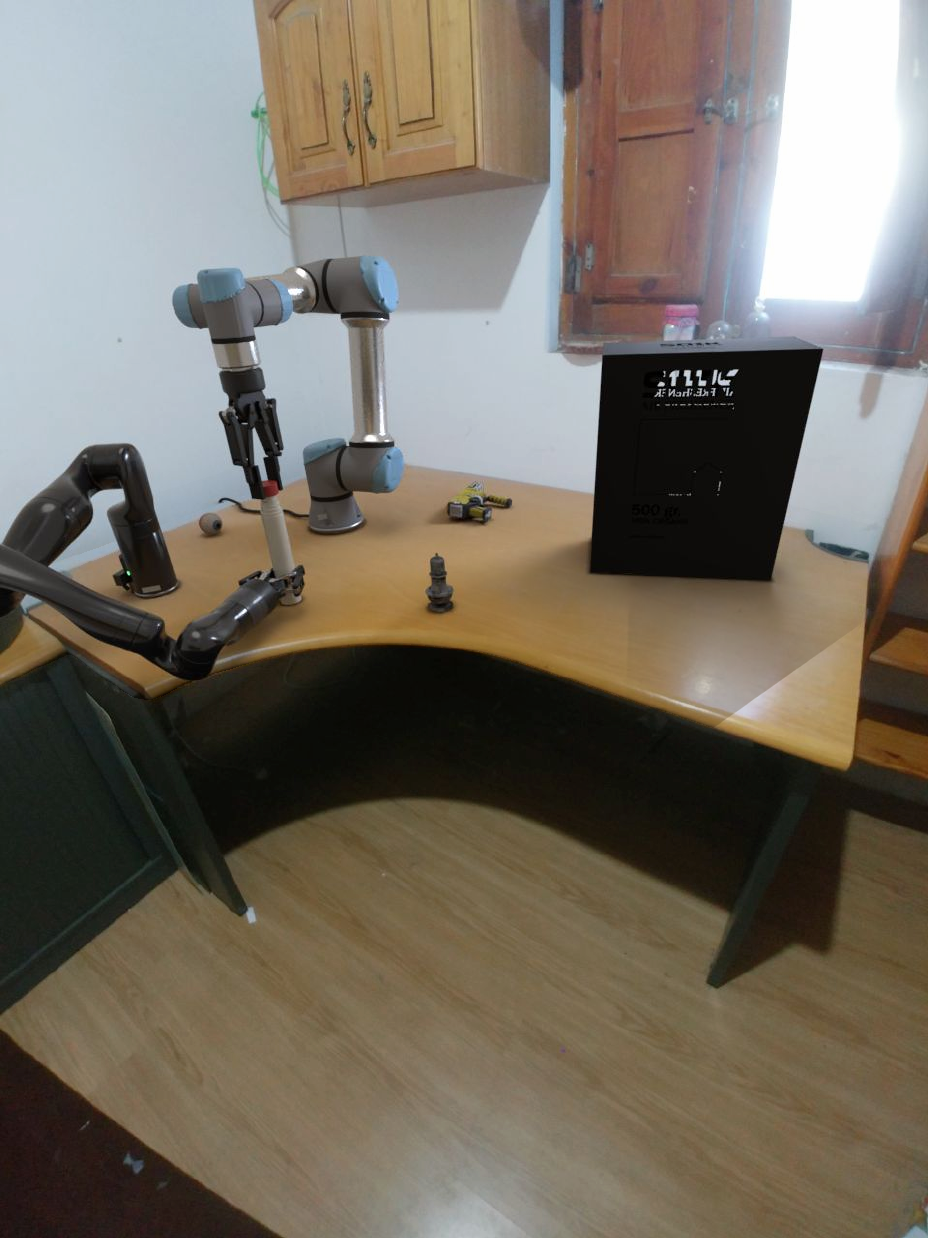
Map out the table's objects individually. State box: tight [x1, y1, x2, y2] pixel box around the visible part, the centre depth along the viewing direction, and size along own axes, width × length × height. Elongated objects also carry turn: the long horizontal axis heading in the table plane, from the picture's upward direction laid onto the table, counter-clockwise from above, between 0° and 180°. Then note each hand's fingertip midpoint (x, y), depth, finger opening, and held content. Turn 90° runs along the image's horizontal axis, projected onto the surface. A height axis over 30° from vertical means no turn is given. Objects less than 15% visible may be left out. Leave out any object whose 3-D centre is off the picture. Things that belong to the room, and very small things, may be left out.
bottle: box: [259, 495, 302, 606], centre depth 125 cm, size 4×4×26 cm
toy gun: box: [446, 480, 513, 523], centre depth 174 cm, size 5×24×15 cm
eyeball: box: [198, 512, 223, 536], centre depth 167 cm, size 6×6×6 cm
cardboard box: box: [589, 336, 824, 581], centre depth 128 cm, size 38×20×45 cm, turn 78°
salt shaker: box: [424, 552, 455, 613], centre depth 122 cm, size 6×6×12 cm
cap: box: [262, 479, 280, 497], centre depth 119 cm, size 4×4×2 cm
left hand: (291, 568), depth 130 cm, fingers closed on bottle, 4 cm apart
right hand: (267, 493), depth 119 cm, fingers open, 5 cm apart
